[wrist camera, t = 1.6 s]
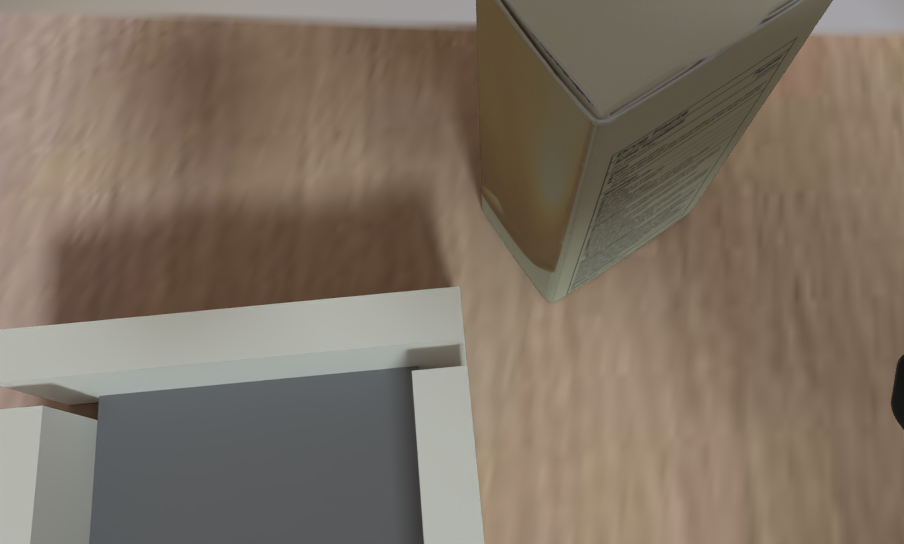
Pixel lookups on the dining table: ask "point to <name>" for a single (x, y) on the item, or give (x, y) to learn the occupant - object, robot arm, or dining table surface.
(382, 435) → the socket block
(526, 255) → the skincare box
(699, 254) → the dining table surface
